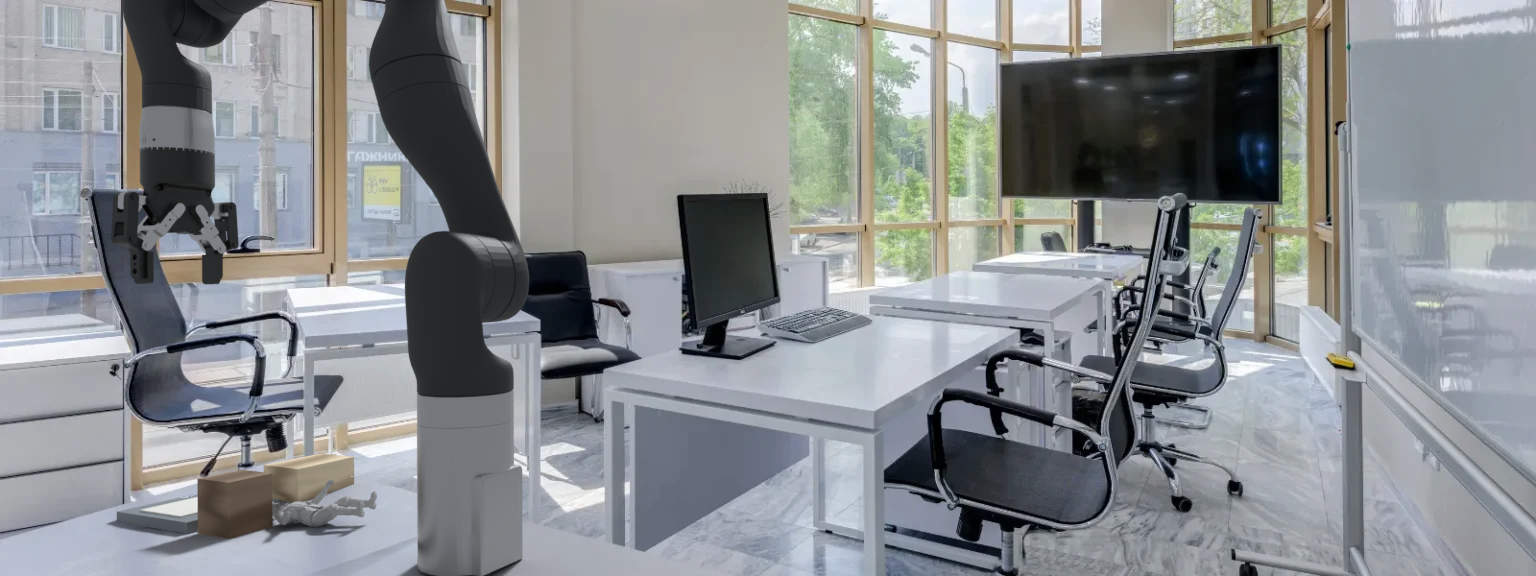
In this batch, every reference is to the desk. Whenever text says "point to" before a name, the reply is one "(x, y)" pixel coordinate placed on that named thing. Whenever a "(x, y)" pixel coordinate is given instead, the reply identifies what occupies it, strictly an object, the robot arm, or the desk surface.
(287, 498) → the maple block
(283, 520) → the soldier figure
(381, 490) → the desk surface
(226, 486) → the walnut cube
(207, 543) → the desk surface
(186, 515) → the board
